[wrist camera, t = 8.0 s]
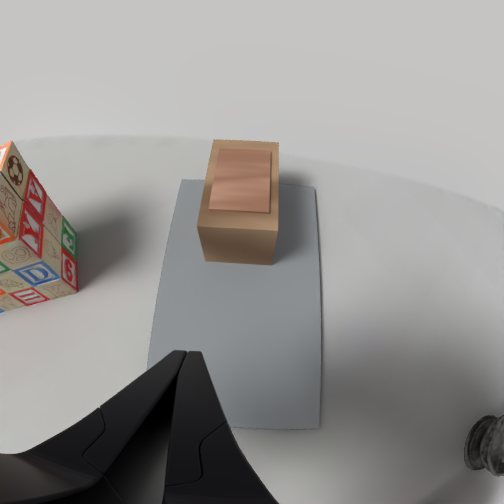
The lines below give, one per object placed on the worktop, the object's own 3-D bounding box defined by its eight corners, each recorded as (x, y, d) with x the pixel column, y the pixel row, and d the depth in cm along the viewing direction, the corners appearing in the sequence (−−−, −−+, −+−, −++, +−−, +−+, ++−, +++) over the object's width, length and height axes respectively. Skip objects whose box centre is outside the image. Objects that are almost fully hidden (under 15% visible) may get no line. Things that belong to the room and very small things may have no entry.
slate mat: (317, 427, 18) (319, 428, 17) (144, 414, 18) (142, 414, 17) (313, 190, 27) (314, 186, 27) (182, 182, 27) (181, 179, 27)
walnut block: (278, 229, 18) (278, 140, 22) (196, 224, 18) (213, 137, 22) (271, 265, 23) (273, 183, 27) (205, 261, 23) (217, 180, 27)
